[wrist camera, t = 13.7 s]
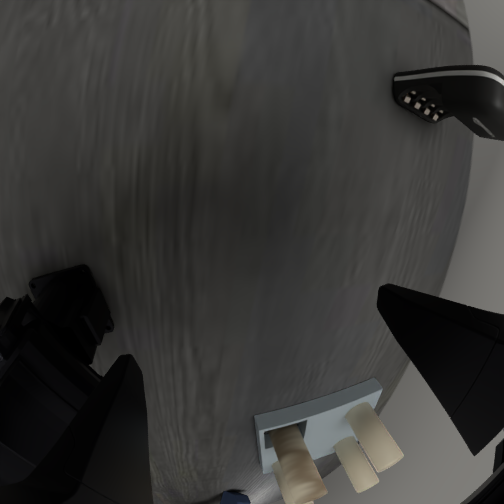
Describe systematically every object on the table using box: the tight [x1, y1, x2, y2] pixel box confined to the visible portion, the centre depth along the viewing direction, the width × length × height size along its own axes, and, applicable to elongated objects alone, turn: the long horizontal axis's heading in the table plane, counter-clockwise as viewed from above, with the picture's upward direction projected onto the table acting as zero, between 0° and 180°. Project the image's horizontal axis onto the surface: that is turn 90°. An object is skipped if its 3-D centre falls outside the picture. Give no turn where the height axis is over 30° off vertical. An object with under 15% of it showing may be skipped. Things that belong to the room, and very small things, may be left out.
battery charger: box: [394, 65, 504, 141], centre depth 15 cm, size 7×4×11 cm, turn 79°
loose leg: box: [268, 423, 327, 504], centre depth 28 cm, size 4×4×13 cm
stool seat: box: [254, 377, 404, 504], centre depth 31 cm, size 18×18×13 cm
